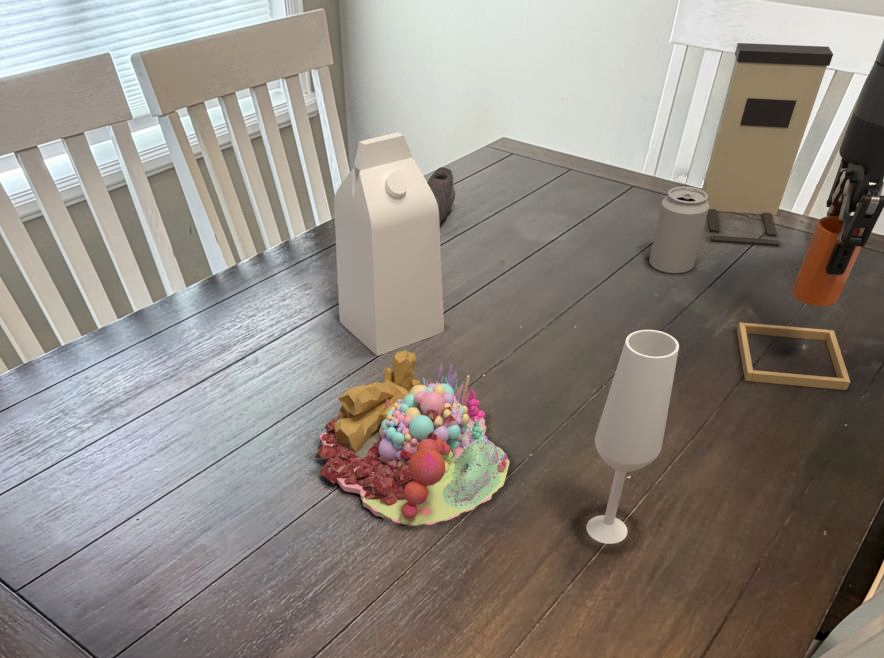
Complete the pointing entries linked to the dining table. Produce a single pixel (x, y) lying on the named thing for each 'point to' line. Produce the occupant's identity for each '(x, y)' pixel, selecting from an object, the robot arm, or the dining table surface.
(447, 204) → the perforated stone tool
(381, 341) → the milk
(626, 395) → the champagne flute
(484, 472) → the candy landscape model
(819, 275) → the cup
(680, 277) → the dining table surface
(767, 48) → the standing sign board
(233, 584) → the dining table surface
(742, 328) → the tan wooden square frame
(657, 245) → the can
